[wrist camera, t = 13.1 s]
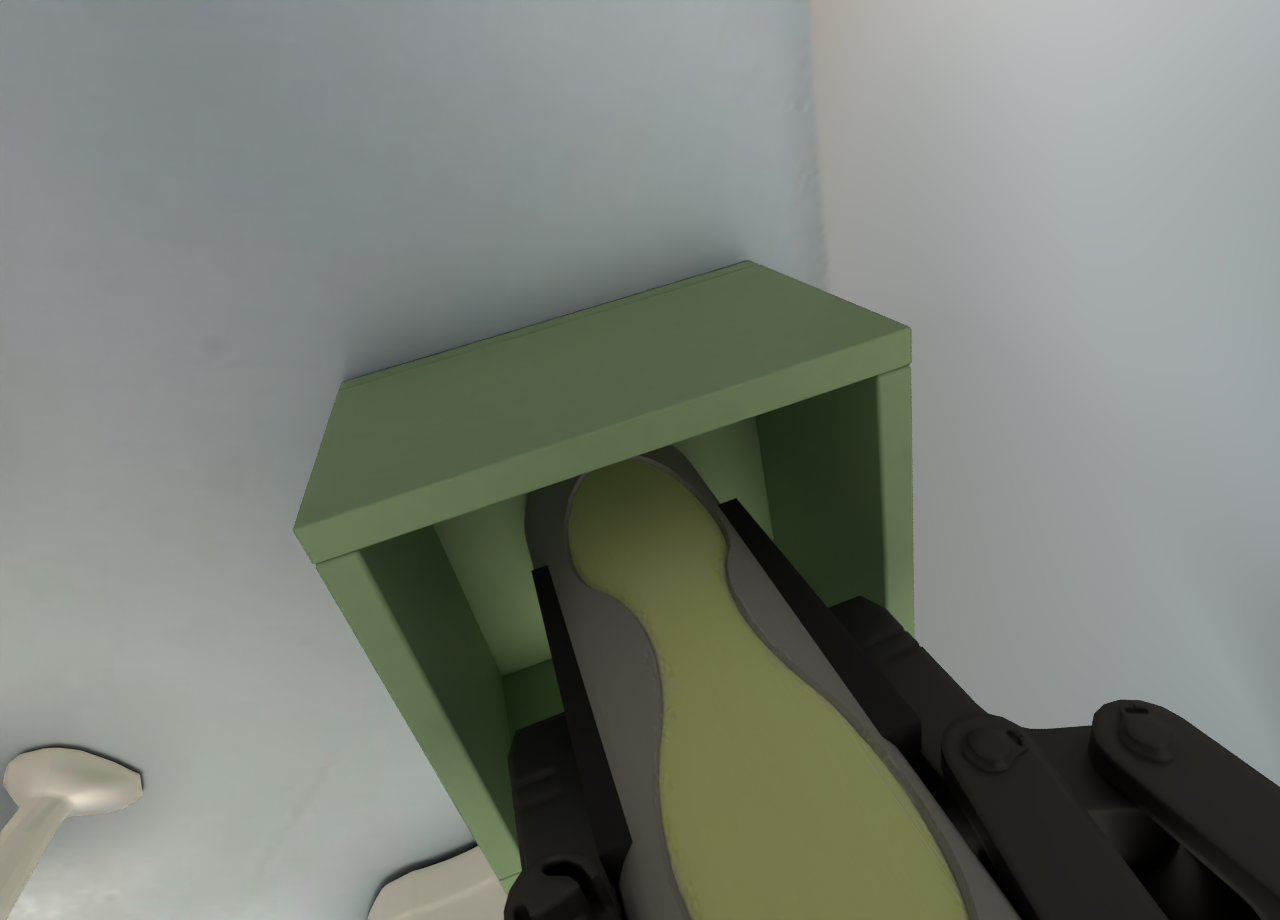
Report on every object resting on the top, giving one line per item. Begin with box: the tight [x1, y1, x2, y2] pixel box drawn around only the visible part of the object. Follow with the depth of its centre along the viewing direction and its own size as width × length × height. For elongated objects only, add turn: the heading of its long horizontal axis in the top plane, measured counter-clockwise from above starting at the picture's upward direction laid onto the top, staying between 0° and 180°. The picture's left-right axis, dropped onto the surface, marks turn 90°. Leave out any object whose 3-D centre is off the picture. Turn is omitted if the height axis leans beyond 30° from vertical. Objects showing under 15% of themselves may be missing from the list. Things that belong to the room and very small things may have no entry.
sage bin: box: [293, 261, 914, 896], centre depth 16 cm, size 10×10×7 cm
